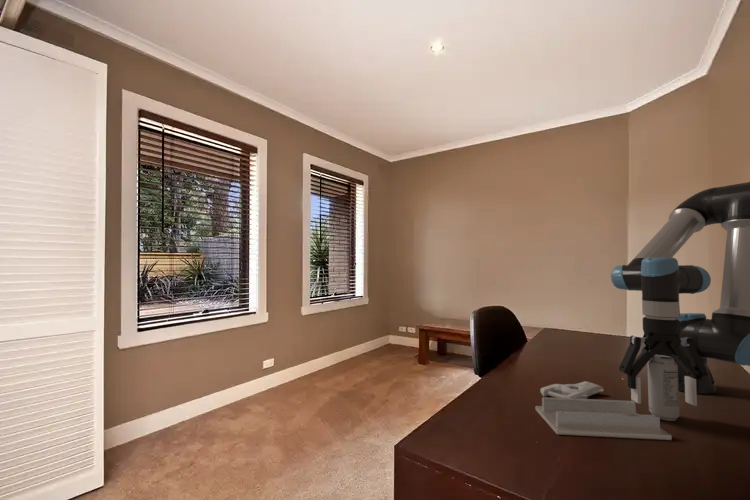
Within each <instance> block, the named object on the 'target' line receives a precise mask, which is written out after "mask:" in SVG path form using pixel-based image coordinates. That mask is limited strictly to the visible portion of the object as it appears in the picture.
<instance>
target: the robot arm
mask: <svg viewBox="0 0 750 500" xmlns="http://www.w3.org/2000/svg"><path fill="white" fill-rule="evenodd" d="M714 224H720V226H721V228H722V229H724V230H725V231H727V232H726V240H725V249H724V250H725V251H724V261H723V271H722V281H721V292H720V301H719V307H718V308H717V309H715V310H714V311H712V313H711V318H710V319H708V318H707V315H706V314H705V313H701V312H700V313H699V312H698V313H697V312H696V313H695V312H694V313H691V312H686V313H685V312H683V313H681V310H680V294H681V295H682V294H688V295H689V294H692V295H695V294H699V293H702V292H705V291H706V290H708V288H709V287H710V286H711V281H712V279H711V275H710V273H709V272H708V271H707V270H706V269H705V268H704V267H702V266H698V265H693V264H686V265H682V264H681V265H679V261H678V259H677V258H675V257H674V256H675V255H676V254H677V253H678V252H679V251H680V250H681V248H682V247H683V246H684V245H685V244H686V243H687V241H688V240H689V239H690V238H691V236H693V235H694V233H698V232H700V231H701V230H703V229H704V227H707V226H710V225H714ZM610 281H611V283H612V285H613V286H614V287H615V288H617V289H619V290H626V291H637V292H639V291H640V292H641V303H642V305H641V307H642V315H643V316H644V317H642V331H643V336H636V335H630V338H629V345H628V347H627V350H626V352H625V354H624V356H623V359H622V360H621V362H620V365H619V367H618V370H619V371H620V372H622V373H624V374H625V375H626V376H627V387H628V388H630V394H631V395H630V398H631V399H630V401H633V402H635V404H636V403H637V405H638V404H642V392H641V391H642V388H641V385H642V384H641V383H642V382H641V377H640V376H638V375H639V374H640V372H641V371H642V370H643V369H644V367H646V365H647V362H648V361H649V360H650V359H651V357H654V356H655V355H664V356H670V357H673V358H674V361H675V362H676V364H677V366H678V392H680V391H681V392H684V400H685V403H687V404H689V405H691V406H694V407H697V406H698V400H697V399H698V395H697V394H701V395H702V394H703V395H704V394H706V395H707V394H715V393H716V392H717V383H716V381H715V379H714V377H713V374H712V372H711V370H710V368H709V365H708V359H711V360H716V361H722V362H725V363H726V362H727V363H732V364H737V365H738V366H739V365H740V366H749V367H750V181H747V182H741V183H736V184H729V185H725V186H724V185H722V186H717V187H711V188H708V189H704V190H702V191H699V192H697V193H694V195H691V196H690V197H689V198H686V199H685V200H684V201H682V202H681V203H680V204H679V205H678V206H676V207H675V208H674V209H673V210H672V211H671V212H670V214H669V216H668V221H667V222H666V223H665V224H664V225H663V226H662V227H661V228H660V230H659V231H658V232H657V233H656V234H654V236H653V237H652V238H651V239H650V240H649V241H648V242H647V243H646V244H645V245H644V247H643V248H642V249H641V250H640V251H639V252H638V253H637V254H636V255H635V257H634V258H633V259H632V260H631V261H630V262H629V263H628V264H627V265H625V264H622V265H617V266H615V267H613V269H612V270H611V272H610ZM643 344H644V346H643V347H642V345H643ZM641 347H642V348H641ZM640 349H641V352H640ZM639 352H640V353H639Z"/></svg>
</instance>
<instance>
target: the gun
mask: <svg viewBox="0 0 750 500" xmlns="http://www.w3.org/2000/svg"><path fill="white" fill-rule="evenodd" d="M539 390H540V394H541V395H542V396H543V397H548V396H549V397H551V398H573V399H589V397H591V396H593V395H597V394H599V393H603V392H604V391H605V390H604V387H603V386H601V385H599V384H596V383H593V382H590V381H585V380H584V381H581V382H578V383H567V384H561V383H553V384H549V385H547V386H543V387H541V388H540V389H539Z"/></svg>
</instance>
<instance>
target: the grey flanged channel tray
mask: <svg viewBox="0 0 750 500" xmlns="http://www.w3.org/2000/svg"><path fill="white" fill-rule="evenodd" d="M636 407H637V406H636V402H635V401H633V400H622V399H621V400H620V399H618V400H616V399H594V398H592V399H591V398H588V399H573V398H555V397H548V396H545V397H541V405H535V411H536V413H537V414H539V415H540V417H541V418H542V419H543V420H544V421H545V422H546V423H547V425H548V426H549V427H550V428H551V429H552V430H553V432H554V433H556V435H560V436H561V435H563V436H578V437H579V436H580V437H582V436H583V437H597V438H598V437H601V438H619V439H621V438H622V439H623V438H624V439H641V440H657V441H658V440H660V441H673V440H672V434H671V433H669V432H667V431H665V430H664V429H662V428H661V419H660V417H658V416H657V415H652V414H639V413H637V411H636Z"/></svg>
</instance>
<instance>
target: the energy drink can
mask: <svg viewBox="0 0 750 500" xmlns="http://www.w3.org/2000/svg"><path fill="white" fill-rule="evenodd" d="M646 365H647V391H648V392H647V395H648V399H647V400H648V411H649V412H650V413H651V415H657V416H658V417H660V420H664V421H668V422H669V421H670V422H675V421H677V420H678V418H679V417H680V399H679V398H680V397H679V396H680V395H679V392H680V391H679V390H678V366H677V364H676V362H675V361H674V358H673V357H670V356H664V355H657V354H656V355H655V356H654V357H651V359H650V360H649V361H648V362H647V364H646Z"/></svg>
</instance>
